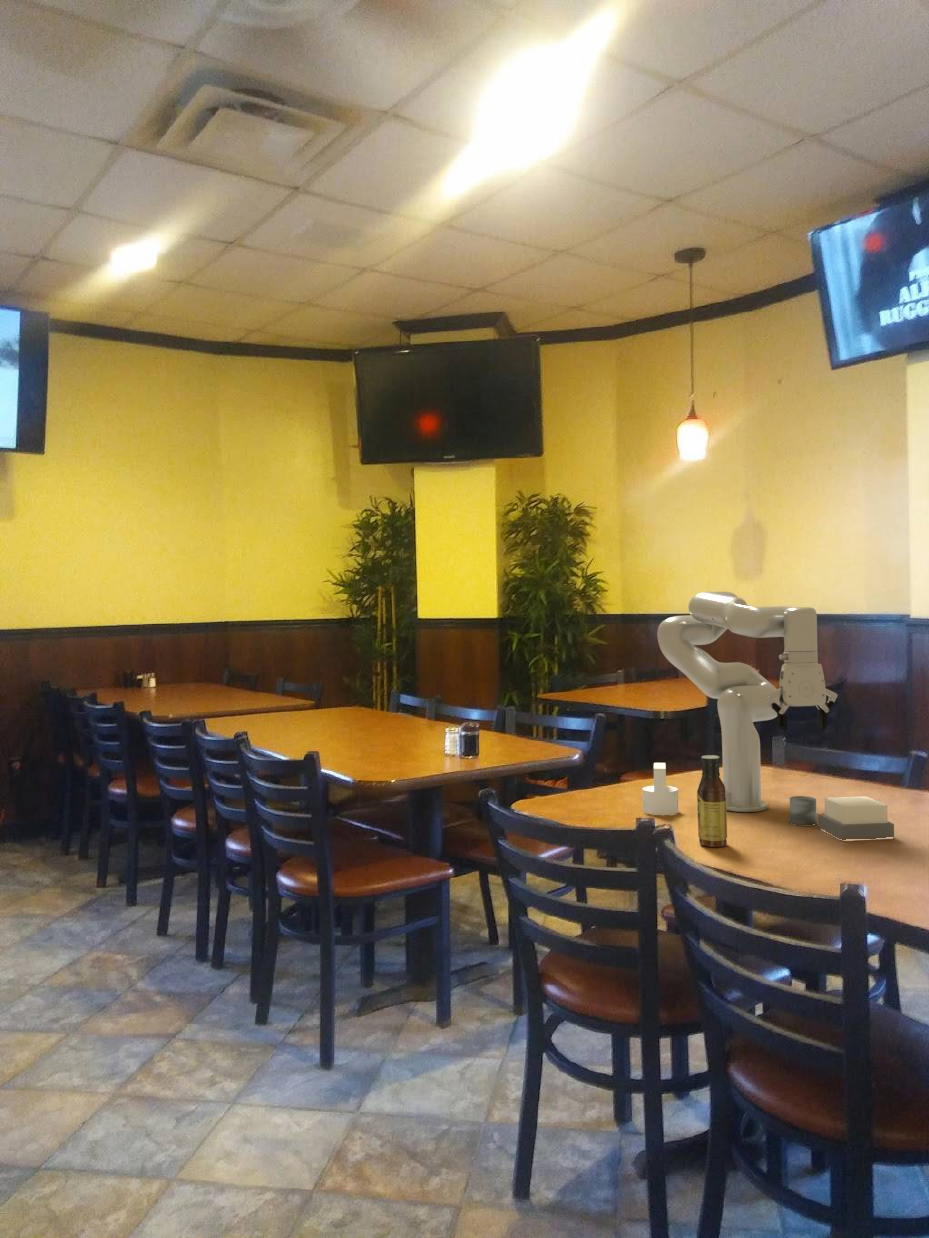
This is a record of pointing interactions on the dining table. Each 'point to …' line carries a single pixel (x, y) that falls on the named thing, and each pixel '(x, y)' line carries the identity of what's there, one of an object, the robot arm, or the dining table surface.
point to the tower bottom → (855, 829)
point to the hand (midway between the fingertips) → (802, 729)
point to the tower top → (855, 810)
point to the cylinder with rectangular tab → (660, 794)
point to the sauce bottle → (711, 804)
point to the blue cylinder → (803, 810)
